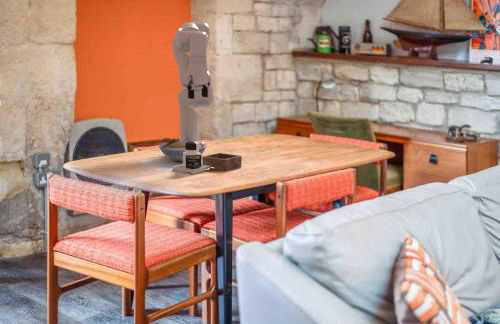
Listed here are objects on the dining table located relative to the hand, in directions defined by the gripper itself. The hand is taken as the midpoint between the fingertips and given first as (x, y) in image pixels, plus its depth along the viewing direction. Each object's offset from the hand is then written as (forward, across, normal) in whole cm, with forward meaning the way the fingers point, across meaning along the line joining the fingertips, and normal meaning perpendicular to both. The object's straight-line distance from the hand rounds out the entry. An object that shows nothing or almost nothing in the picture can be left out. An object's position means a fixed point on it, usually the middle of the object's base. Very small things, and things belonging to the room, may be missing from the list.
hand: (198, 97), depth 346 cm
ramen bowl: (+31, -1, -10) cm, 32 cm away
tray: (+30, +14, +8) cm, 34 cm away
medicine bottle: (+30, +14, +8) cm, 34 cm away
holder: (+30, 0, +14) cm, 33 cm away
